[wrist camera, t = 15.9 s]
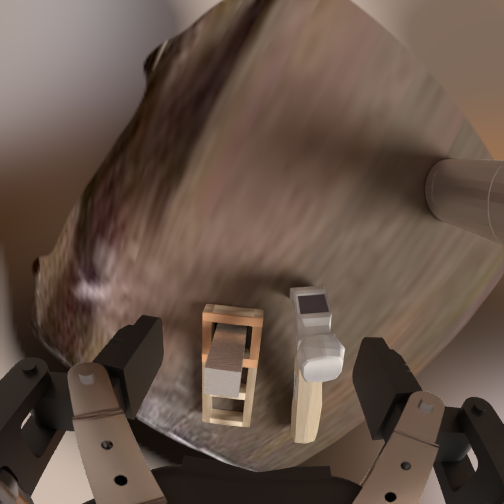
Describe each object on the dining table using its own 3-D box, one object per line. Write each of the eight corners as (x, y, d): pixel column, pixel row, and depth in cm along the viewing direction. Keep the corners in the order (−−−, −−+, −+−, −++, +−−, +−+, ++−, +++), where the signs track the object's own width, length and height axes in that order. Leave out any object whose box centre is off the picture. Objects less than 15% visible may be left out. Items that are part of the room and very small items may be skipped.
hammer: (320, 468, 39) (350, 353, 24) (292, 470, 39) (297, 358, 25) (312, 396, 52) (322, 262, 38) (288, 398, 53) (286, 264, 39)
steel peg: (247, 320, 42) (241, 372, 31) (245, 343, 43) (238, 398, 32) (219, 317, 42) (204, 367, 31) (218, 340, 43) (203, 393, 32)
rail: (263, 309, 42) (263, 319, 39) (250, 417, 47) (249, 428, 45) (206, 303, 42) (202, 312, 39) (205, 411, 48) (202, 422, 45)
